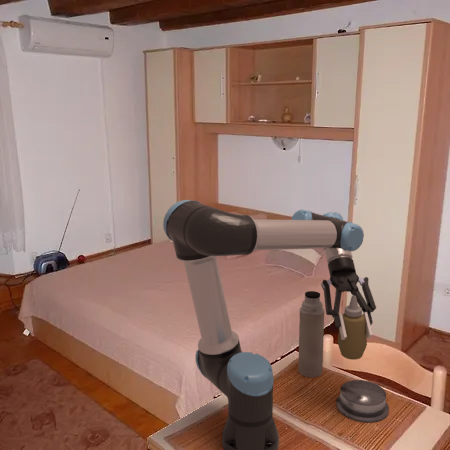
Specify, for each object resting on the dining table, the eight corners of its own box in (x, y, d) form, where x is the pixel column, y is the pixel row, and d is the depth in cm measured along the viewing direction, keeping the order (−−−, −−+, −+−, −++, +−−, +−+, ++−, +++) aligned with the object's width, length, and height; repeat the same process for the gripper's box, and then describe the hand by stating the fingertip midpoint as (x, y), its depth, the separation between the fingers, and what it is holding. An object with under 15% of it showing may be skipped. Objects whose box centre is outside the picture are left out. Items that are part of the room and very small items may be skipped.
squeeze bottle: (361, 365, 134) (363, 304, 129) (332, 357, 138) (334, 298, 134) (370, 352, 140) (373, 294, 136) (343, 345, 145) (344, 288, 140)
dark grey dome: (340, 422, 138) (341, 406, 137) (332, 392, 153) (333, 377, 152) (395, 423, 138) (396, 407, 136) (381, 393, 152) (382, 378, 151)
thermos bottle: (299, 364, 170) (301, 287, 164) (322, 366, 168) (325, 289, 162) (297, 375, 163) (299, 296, 156) (321, 378, 161) (324, 298, 154)
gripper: (368, 264, 149) (387, 339, 138) (305, 268, 148) (319, 344, 137) (375, 253, 143) (396, 330, 131) (310, 257, 141) (325, 335, 130)
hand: (357, 337), depth 134 cm, fingers closed on squeeze bottle, 6 cm apart
